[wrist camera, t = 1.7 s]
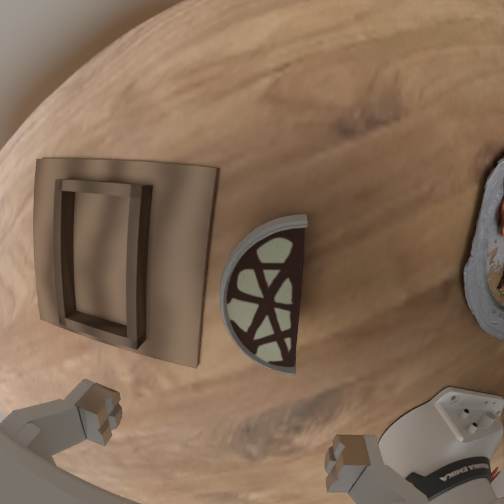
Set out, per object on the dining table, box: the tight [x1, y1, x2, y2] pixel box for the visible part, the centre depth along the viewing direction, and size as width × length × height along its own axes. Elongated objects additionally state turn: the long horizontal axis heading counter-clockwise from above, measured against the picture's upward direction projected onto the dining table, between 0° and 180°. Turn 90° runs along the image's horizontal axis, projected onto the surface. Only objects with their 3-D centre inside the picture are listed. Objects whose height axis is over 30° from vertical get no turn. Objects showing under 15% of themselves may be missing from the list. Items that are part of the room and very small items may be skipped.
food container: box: [220, 214, 308, 375], centre depth 26 cm, size 12×6×10 cm, turn 179°
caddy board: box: [33, 159, 219, 368], centre depth 31 cm, size 24×22×4 cm
